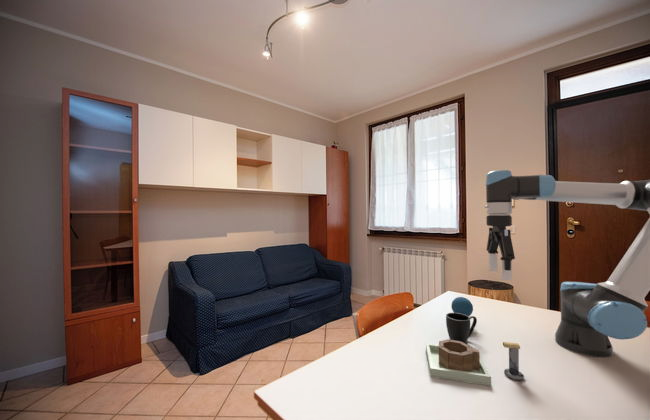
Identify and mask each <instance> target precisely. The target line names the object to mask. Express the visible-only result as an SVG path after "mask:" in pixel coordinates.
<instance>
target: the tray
mask: <svg viewBox="0 0 650 420" xmlns="http://www.w3.org/2000/svg"><path fill="white" fill-rule="evenodd" d="M425 353H426V359H427V364H428V370H429V376H430V378H436V379H443V380H449V381H457V382H461V383H462V382H463V383H470V384H477V385H485V386H490V387H491V386H492V376H491V374H490V373H489V370H488V369H487V366H486V365H485V363H484V361H483V360H482V358H481V356H480V371H479V370H474V369H473V371H472V372H466V371H459V370H452V369H445V368H444V367H442V366H441V365H439V344H435V343H434V344H433V343H425Z"/></svg>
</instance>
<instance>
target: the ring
mask: <svg viewBox="0 0 650 420" xmlns="http://www.w3.org/2000/svg"><path fill="white" fill-rule="evenodd" d="M438 345H439V365H441V366H442V367H444V368H445V369H452V370H459V371H466V372H472V371H473V369H474V370H479V371H480V357H481V355H480V350H479V349H477V348H472V346H470V345H469V344H467V343H466V344H465V343H463V342H461V341H455V340H450V338H448V339H443V340H439V341H438Z"/></svg>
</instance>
